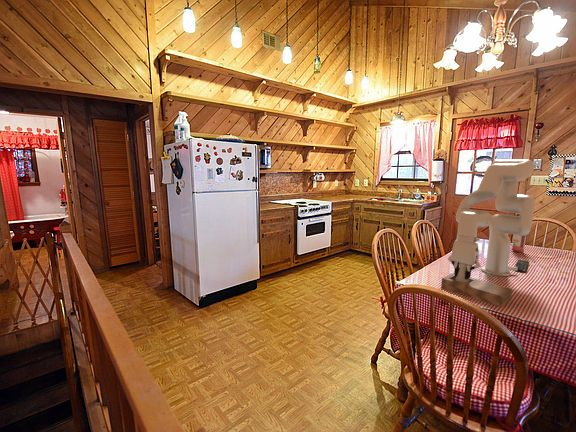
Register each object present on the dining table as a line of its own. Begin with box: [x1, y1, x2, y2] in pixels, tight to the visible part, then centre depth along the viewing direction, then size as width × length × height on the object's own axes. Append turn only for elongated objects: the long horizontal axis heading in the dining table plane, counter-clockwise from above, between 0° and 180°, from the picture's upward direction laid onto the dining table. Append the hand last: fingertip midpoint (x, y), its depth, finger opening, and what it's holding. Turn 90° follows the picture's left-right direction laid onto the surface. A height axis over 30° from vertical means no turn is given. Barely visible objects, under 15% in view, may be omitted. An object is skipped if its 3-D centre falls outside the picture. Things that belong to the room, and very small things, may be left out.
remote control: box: [514, 259, 530, 274], centre depth 166 cm, size 5×24×1 cm, turn 137°
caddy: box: [440, 272, 514, 308], centre depth 130 cm, size 24×12×4 cm, turn 37°
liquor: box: [511, 234, 527, 254], centre depth 192 cm, size 7×7×28 cm
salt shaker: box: [455, 263, 469, 284], centre depth 134 cm, size 6×6×13 cm
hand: (461, 276), depth 134 cm, fingers open, 3 cm apart
